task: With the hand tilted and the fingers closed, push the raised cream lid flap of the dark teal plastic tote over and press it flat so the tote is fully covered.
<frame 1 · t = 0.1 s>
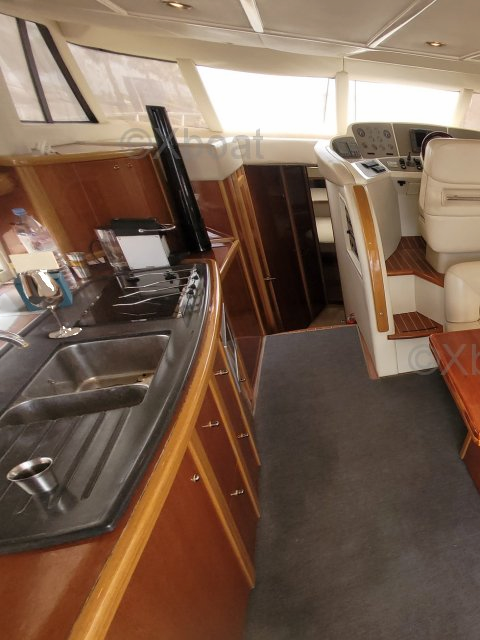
wineglass: (65, 333, 123), on the counter
flap: (34, 262, 140), point 13 cm above the counter, hinge at 110.0°
tote: (51, 302, 142), on the counter
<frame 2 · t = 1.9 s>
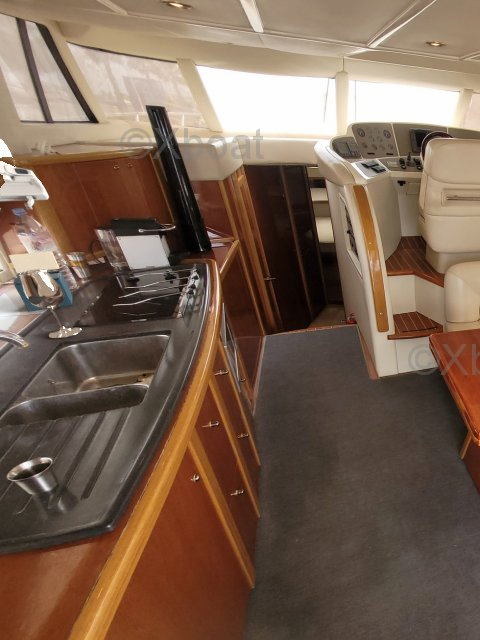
hand: (13, 209, 140), 29 cm above the counter, tool tilted 45°, fingers open, 6 cm apart
nothing on the counter moved.
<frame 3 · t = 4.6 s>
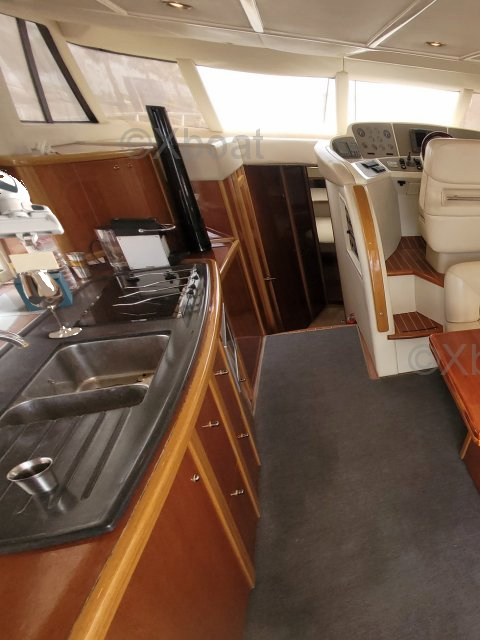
hand: (30, 245, 144), 17 cm above the counter, tool tilted 45°, fingers closed
nothing on the counter moved.
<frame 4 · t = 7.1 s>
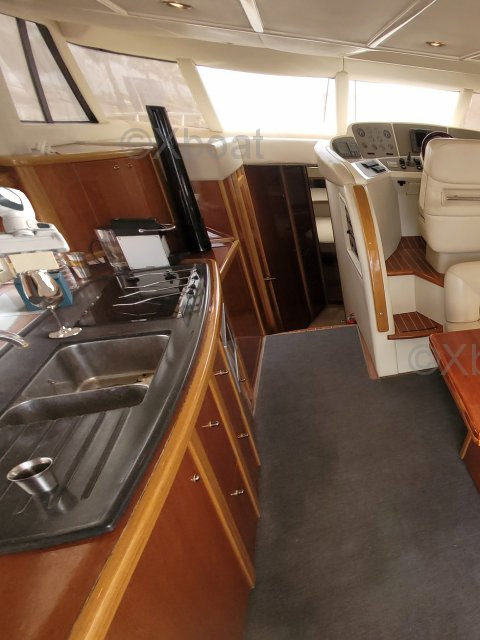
hand: (35, 264, 141), 12 cm above the counter, tool tilted 45°, fingers closed, pressing on flap
flap: (34, 262, 140), point 13 cm above the counter, hinge at 104.3°, touching gripper
everything else where it was.
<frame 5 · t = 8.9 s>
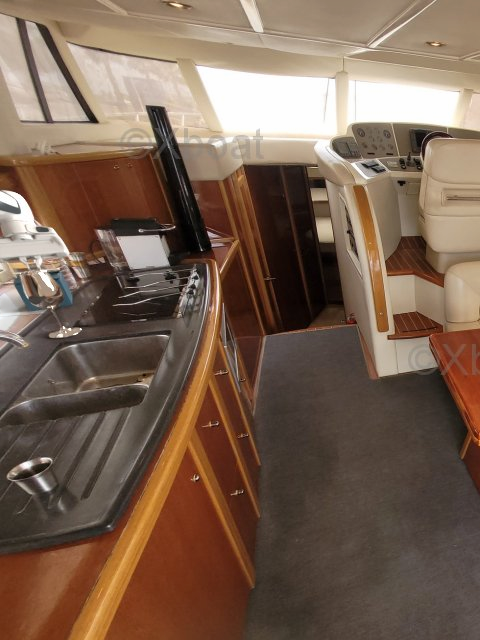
hand: (34, 269, 137), 12 cm above the counter, tool tilted 45°, fingers closed
flap: (37, 271, 139), point 11 cm above the counter, hinge at 14.7°
everything else where it was.
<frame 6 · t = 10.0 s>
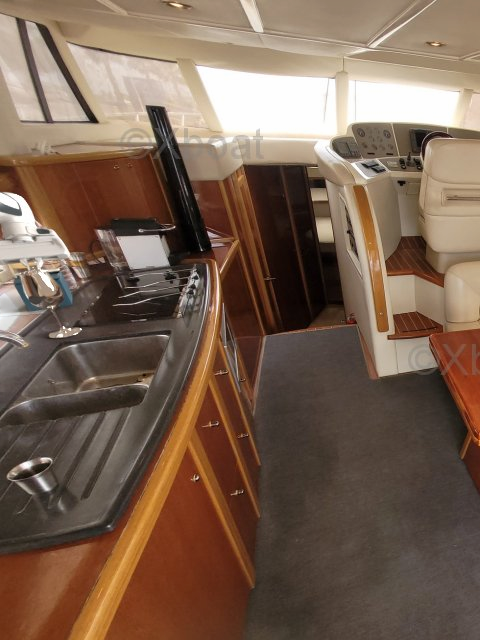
hand: (35, 271, 136), 12 cm above the counter, tool tilted 45°, fingers closed, pressing on flap
flap: (37, 271, 139), point 11 cm above the counter, hinge at 10.2°, touching gripper
everything else where it was.
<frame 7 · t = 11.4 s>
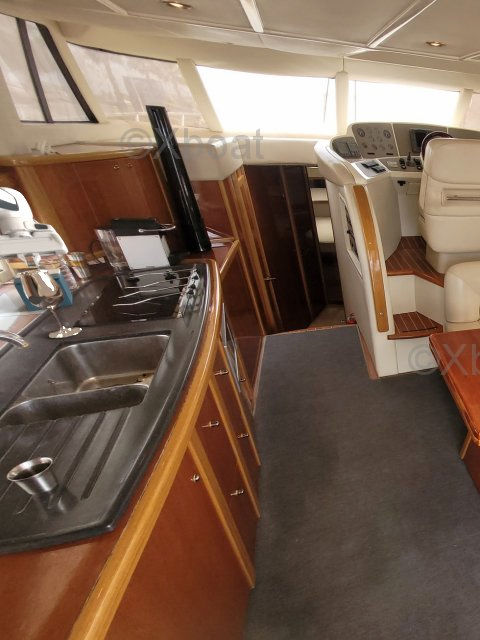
hand: (32, 266, 136), 13 cm above the counter, tool tilted 45°, fingers closed
flap: (38, 273, 139), point 10 cm above the counter, hinge at -1.3°
everything else where it was.
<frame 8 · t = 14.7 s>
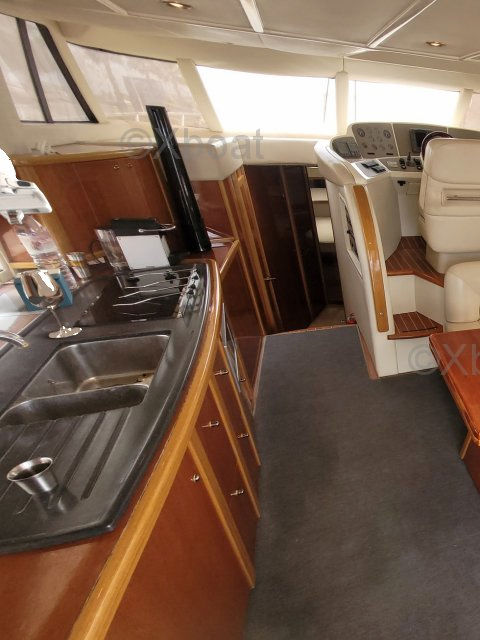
hand: (15, 223, 135), 26 cm above the counter, tool tilted 45°, fingers closed
nothing on the counter moved.
at the end: flap at -1° (first picture: +110°); wineglass moved 0.2 cm from its start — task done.
